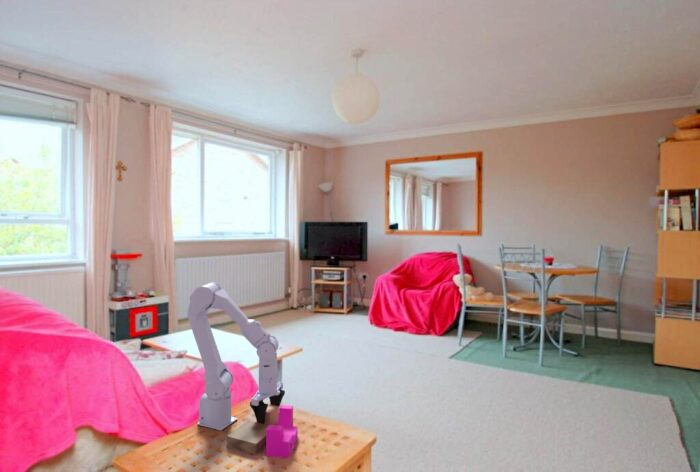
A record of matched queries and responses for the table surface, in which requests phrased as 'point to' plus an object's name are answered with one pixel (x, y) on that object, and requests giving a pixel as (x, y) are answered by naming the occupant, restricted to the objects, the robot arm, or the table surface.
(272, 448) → the toy block
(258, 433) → the taupe block
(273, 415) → the terracotta cube
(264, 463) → the table surface
